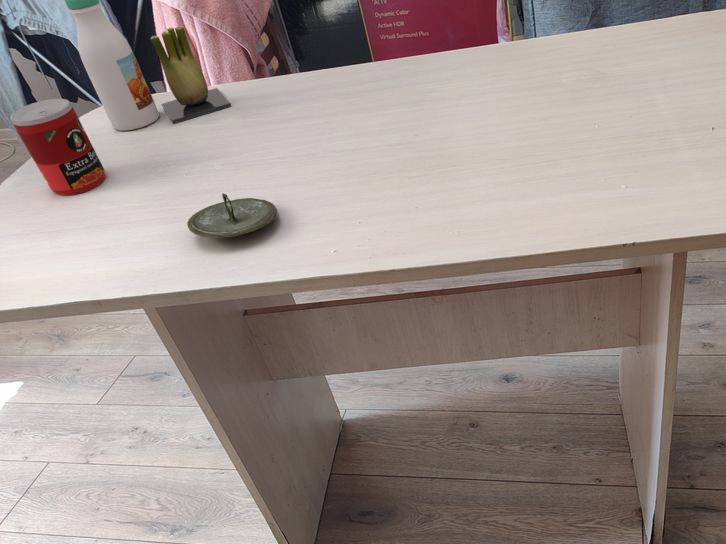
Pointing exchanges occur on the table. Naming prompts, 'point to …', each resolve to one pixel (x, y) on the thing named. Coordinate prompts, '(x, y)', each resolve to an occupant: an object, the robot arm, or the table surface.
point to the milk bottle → (112, 68)
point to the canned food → (59, 146)
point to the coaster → (196, 107)
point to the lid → (232, 217)
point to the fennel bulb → (181, 67)
